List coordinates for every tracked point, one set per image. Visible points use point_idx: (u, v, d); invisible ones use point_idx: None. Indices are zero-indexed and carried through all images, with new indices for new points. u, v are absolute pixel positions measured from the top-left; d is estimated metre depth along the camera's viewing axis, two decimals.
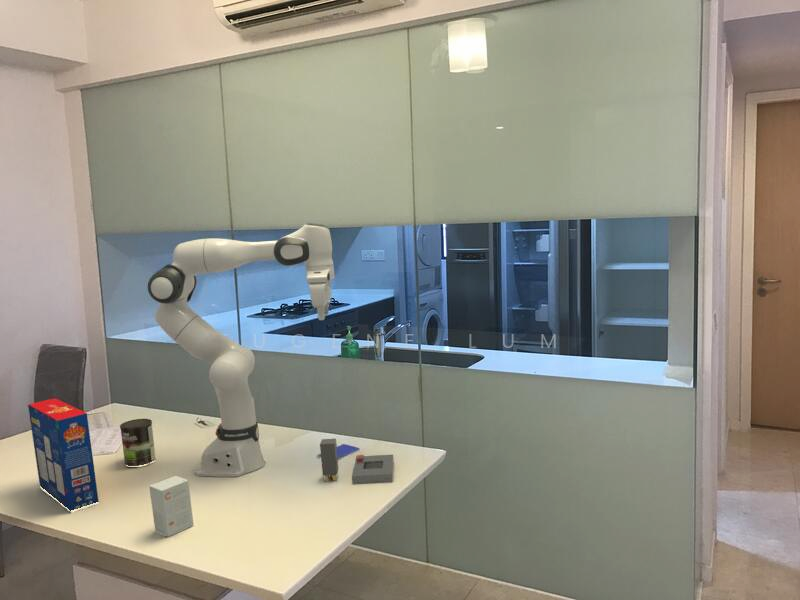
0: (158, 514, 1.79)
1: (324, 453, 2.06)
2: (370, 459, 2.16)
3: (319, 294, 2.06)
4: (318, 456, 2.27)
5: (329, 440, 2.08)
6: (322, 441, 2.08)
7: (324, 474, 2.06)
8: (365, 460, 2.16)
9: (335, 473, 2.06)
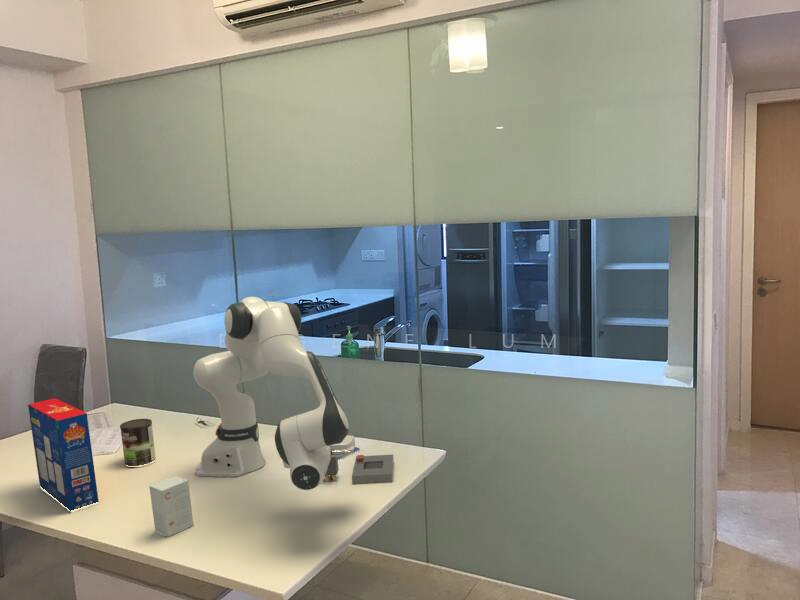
0: (158, 514, 1.79)
1: None
2: (370, 459, 2.16)
3: None
4: None
5: None
6: None
7: None
8: (365, 460, 2.16)
9: (335, 473, 2.06)
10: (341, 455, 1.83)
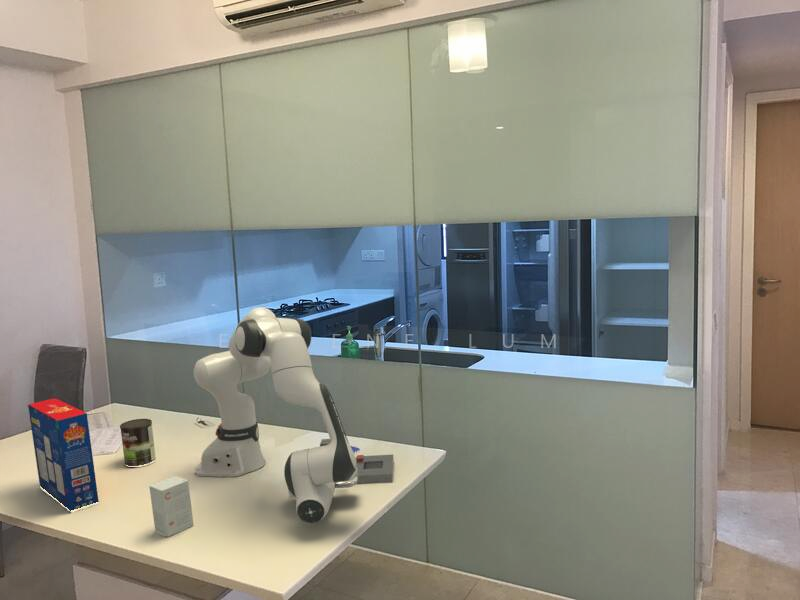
0: (158, 514, 1.79)
1: None
2: (370, 459, 2.16)
3: None
4: None
5: (329, 440, 2.08)
6: (322, 441, 2.08)
7: None
8: (365, 460, 2.16)
9: None
10: (345, 486, 1.89)
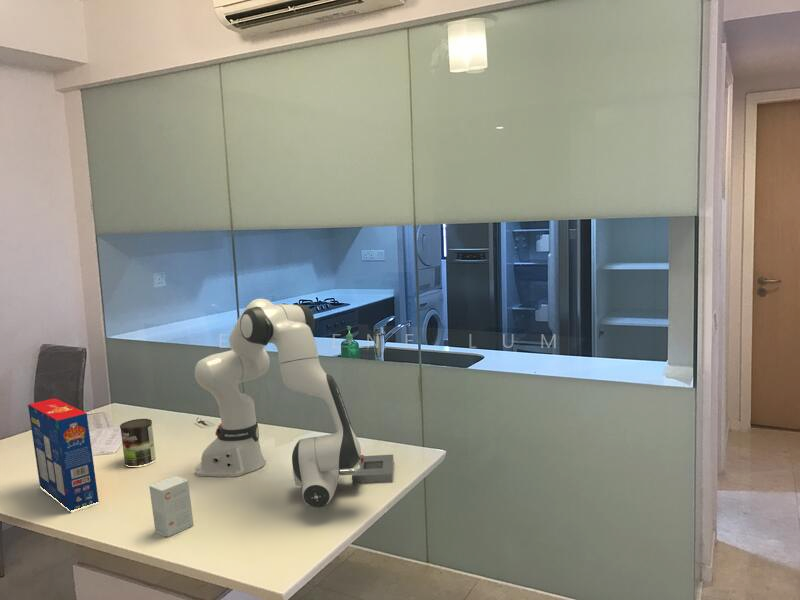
0: (158, 514, 1.79)
1: None
2: (370, 459, 2.16)
3: None
4: None
5: None
6: None
7: None
8: (365, 460, 2.16)
9: None
10: (348, 474, 1.97)
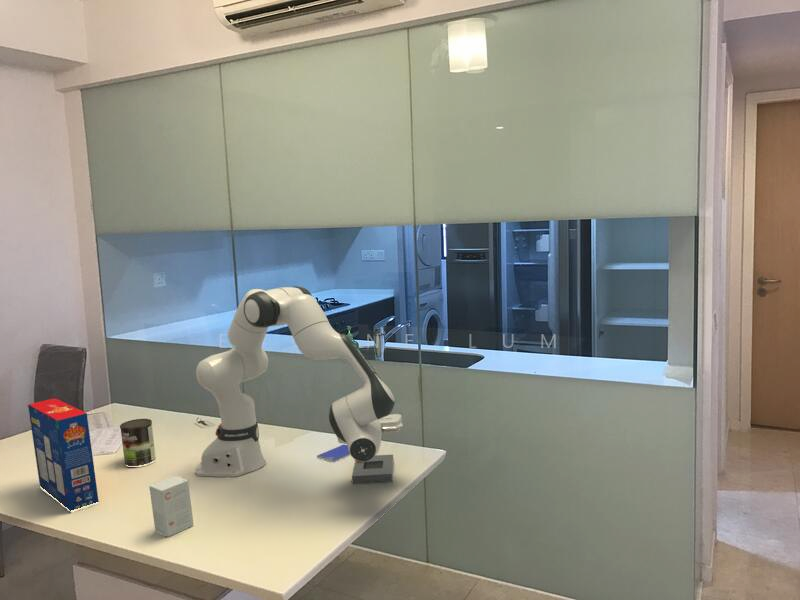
0: (158, 514, 1.79)
1: None
2: None
3: None
4: (318, 456, 2.27)
5: None
6: None
7: None
8: None
9: None
10: (391, 431, 1.98)
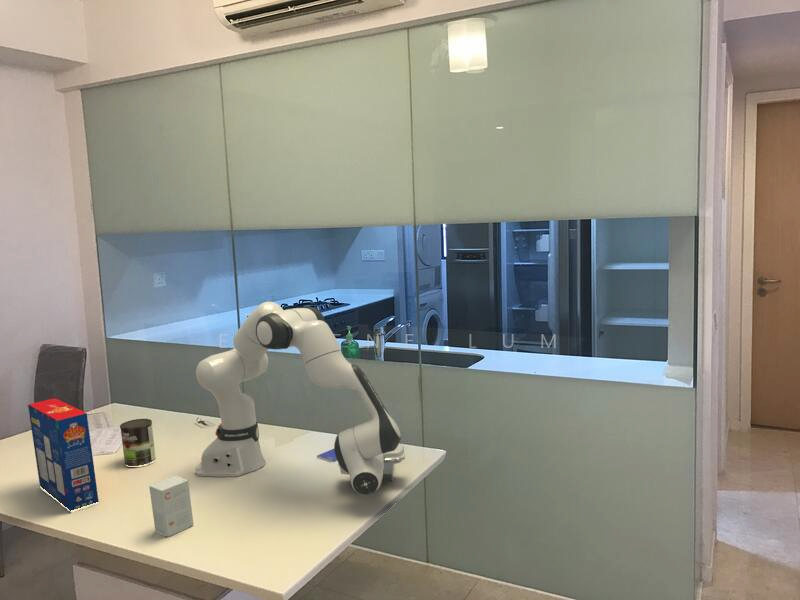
0: (158, 514, 1.79)
1: None
2: None
3: None
4: (318, 456, 2.27)
5: None
6: None
7: None
8: None
9: None
10: (393, 462, 1.99)
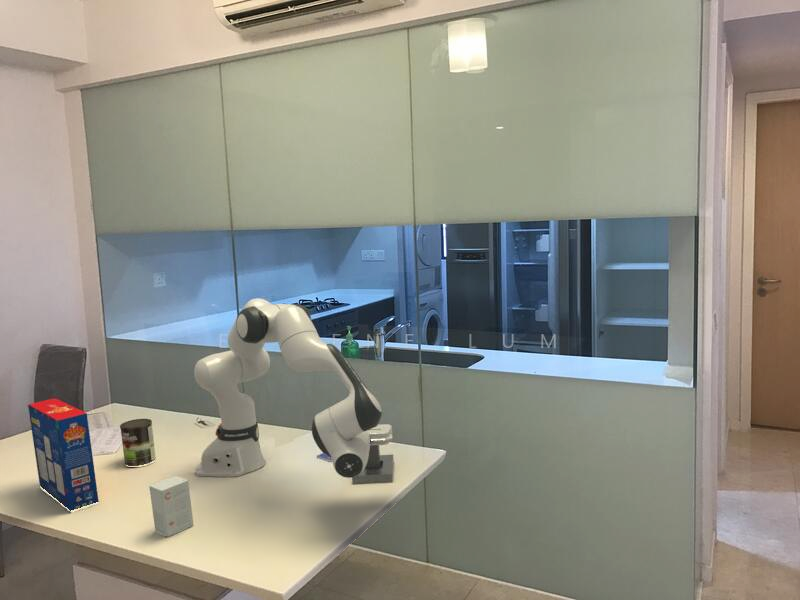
0: (158, 514, 1.79)
1: None
2: None
3: None
4: (318, 456, 2.27)
5: None
6: None
7: (367, 468, 2.09)
8: None
9: (377, 467, 2.09)
10: (380, 444, 1.86)
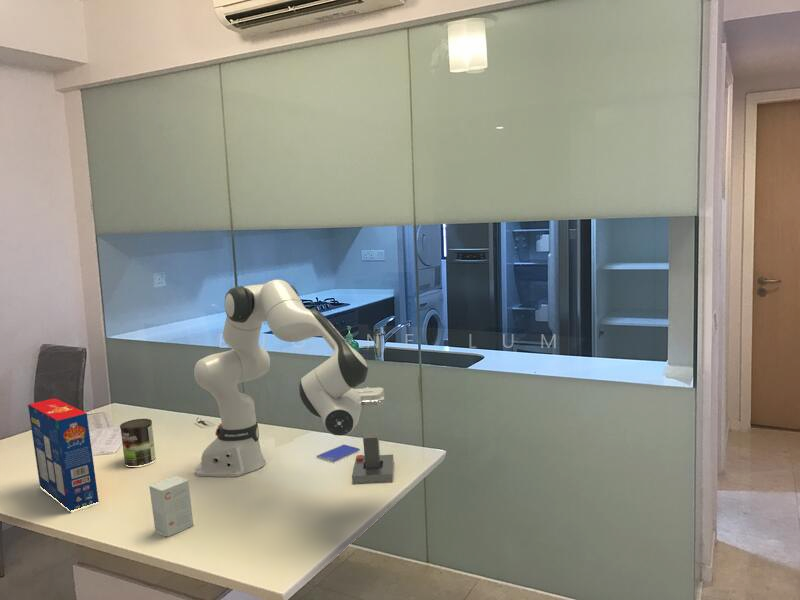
0: (158, 514, 1.79)
1: (367, 447, 2.08)
2: None
3: None
4: (318, 456, 2.27)
5: (372, 434, 2.11)
6: (365, 435, 2.10)
7: (367, 468, 2.09)
8: None
9: (377, 467, 2.09)
10: (371, 405, 1.84)
